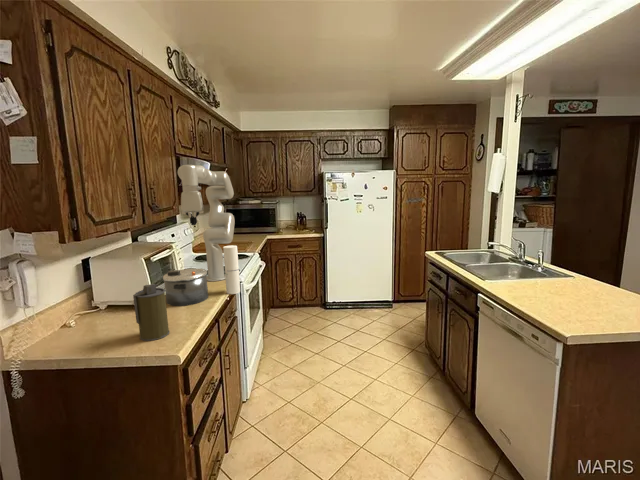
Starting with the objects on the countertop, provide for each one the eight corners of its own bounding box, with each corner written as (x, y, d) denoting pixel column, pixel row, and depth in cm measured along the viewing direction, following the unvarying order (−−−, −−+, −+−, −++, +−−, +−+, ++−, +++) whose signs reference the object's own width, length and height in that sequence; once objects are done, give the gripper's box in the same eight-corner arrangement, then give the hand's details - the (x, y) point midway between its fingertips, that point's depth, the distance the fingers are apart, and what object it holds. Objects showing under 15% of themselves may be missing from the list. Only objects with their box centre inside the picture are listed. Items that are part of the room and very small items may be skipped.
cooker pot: (174, 293, 181) (172, 271, 179) (212, 290, 184) (210, 269, 182) (159, 309, 157) (156, 284, 155) (202, 305, 160) (200, 281, 158)
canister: (161, 327, 136) (156, 279, 133) (174, 333, 130) (169, 284, 127) (133, 336, 128) (127, 286, 125) (145, 344, 122) (139, 291, 118)
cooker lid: (170, 272, 177) (170, 267, 177) (210, 269, 180) (209, 264, 179) (157, 283, 157) (156, 277, 157) (202, 279, 160) (201, 274, 159)
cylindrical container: (236, 294, 176) (233, 247, 172) (224, 293, 177) (220, 247, 173) (242, 290, 183) (239, 245, 179) (230, 289, 184) (227, 245, 180)
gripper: (207, 189, 175) (209, 223, 178) (177, 189, 174) (180, 224, 177) (204, 189, 168) (207, 225, 171) (173, 189, 166) (176, 226, 169)
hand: (193, 224), depth 174 cm, fingers closed
